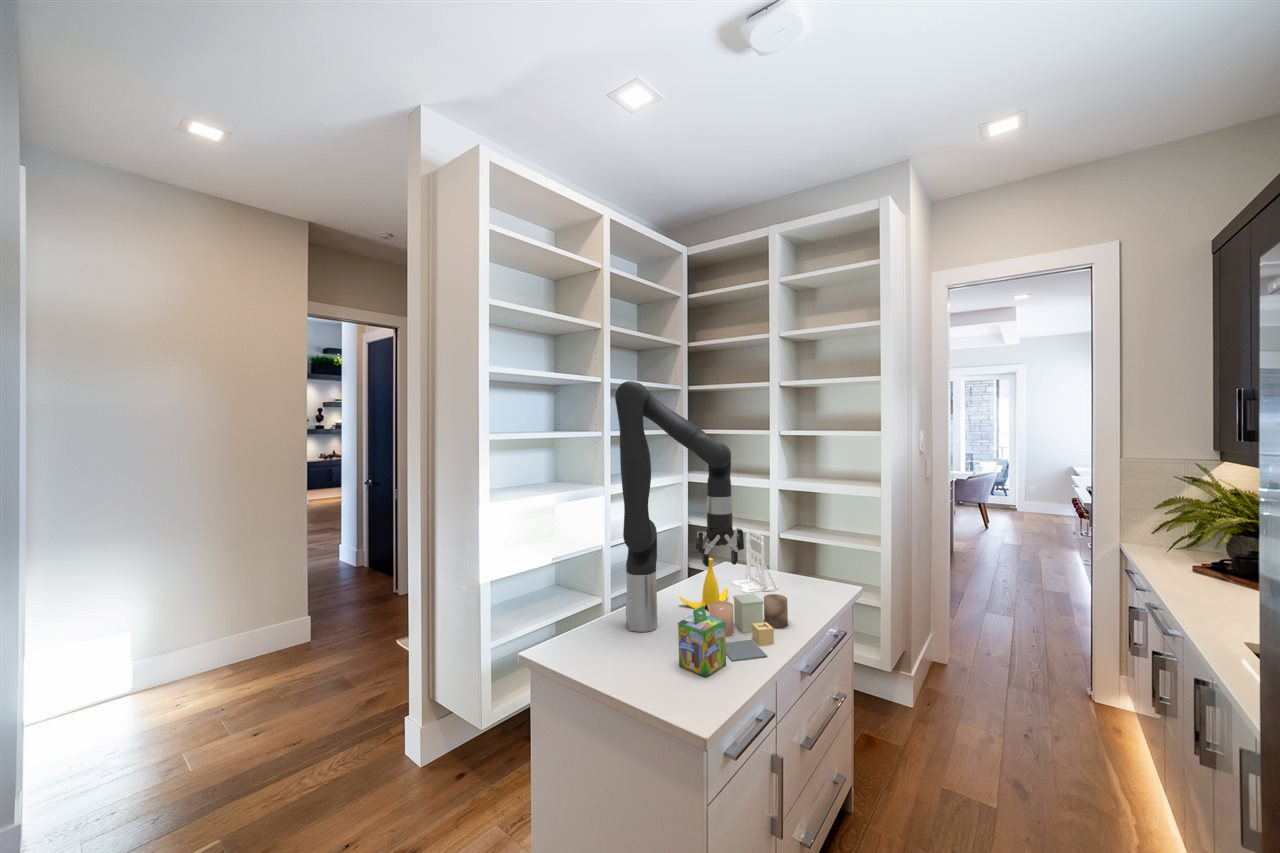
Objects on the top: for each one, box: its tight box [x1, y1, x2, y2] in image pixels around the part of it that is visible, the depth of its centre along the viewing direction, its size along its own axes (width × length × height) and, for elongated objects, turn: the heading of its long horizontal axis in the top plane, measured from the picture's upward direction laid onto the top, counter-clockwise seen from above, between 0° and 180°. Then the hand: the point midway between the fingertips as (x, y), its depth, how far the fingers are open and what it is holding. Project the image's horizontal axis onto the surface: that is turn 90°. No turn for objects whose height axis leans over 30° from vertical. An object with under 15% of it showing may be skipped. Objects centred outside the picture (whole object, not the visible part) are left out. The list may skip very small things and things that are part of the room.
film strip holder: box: [731, 528, 780, 594], centre depth 193 cm, size 14×14×20 cm
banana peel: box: [678, 557, 729, 611], centre depth 171 cm, size 17×19×17 cm
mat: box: [726, 639, 768, 662], centre depth 141 cm, size 10×10×1 cm
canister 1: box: [708, 600, 735, 638], centre depth 153 cm, size 7×7×8 cm
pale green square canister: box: [732, 593, 764, 633], centre depth 156 cm, size 7×7×9 cm
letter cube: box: [751, 621, 775, 647], centre depth 146 cm, size 4×4×5 cm
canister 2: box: [763, 593, 789, 630], centre depth 158 cm, size 7×7×8 cm
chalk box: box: [677, 606, 727, 678], centre depth 133 cm, size 9×9×15 cm
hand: (720, 565), depth 153 cm, fingers open, 8 cm apart
